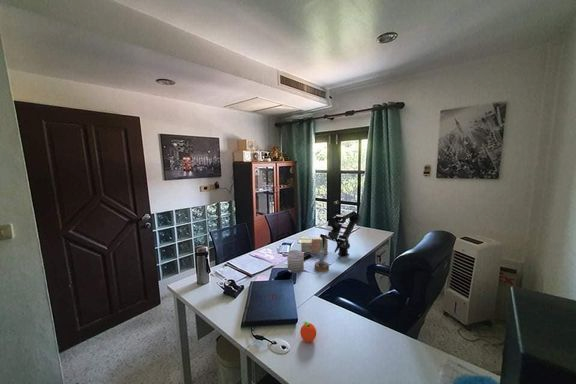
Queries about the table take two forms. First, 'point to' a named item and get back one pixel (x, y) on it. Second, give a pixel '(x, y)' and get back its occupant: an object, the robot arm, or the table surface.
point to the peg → (321, 258)
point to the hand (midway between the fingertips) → (328, 250)
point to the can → (295, 261)
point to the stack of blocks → (314, 245)
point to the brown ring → (321, 268)
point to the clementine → (308, 332)
